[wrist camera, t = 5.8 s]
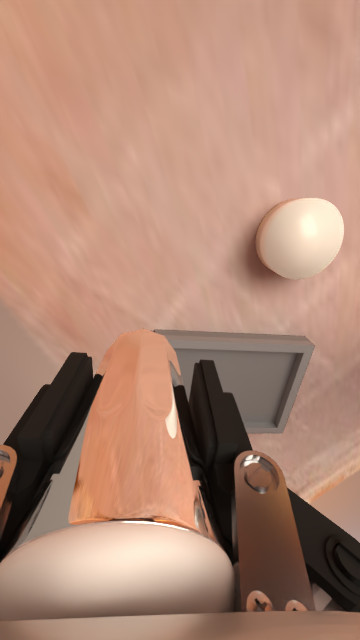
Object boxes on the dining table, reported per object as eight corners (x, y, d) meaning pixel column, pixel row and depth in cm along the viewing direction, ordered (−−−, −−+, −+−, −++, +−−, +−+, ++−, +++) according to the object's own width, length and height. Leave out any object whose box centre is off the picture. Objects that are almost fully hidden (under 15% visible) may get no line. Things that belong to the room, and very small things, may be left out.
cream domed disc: (334, 202, 24) (356, 202, 21) (311, 273, 27) (328, 281, 24) (263, 195, 23) (277, 194, 20) (248, 269, 26) (258, 277, 23)
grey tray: (304, 336, 30) (314, 345, 28) (275, 420, 36) (282, 433, 34) (155, 329, 28) (154, 339, 26) (150, 419, 34) (150, 432, 32)
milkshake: (180, 407, 13) (226, 825, 4) (82, 380, 12) (-137, 891, 3) (219, 340, 12) (419, 787, 3) (110, 300, 10) (-182, 898, 1)
